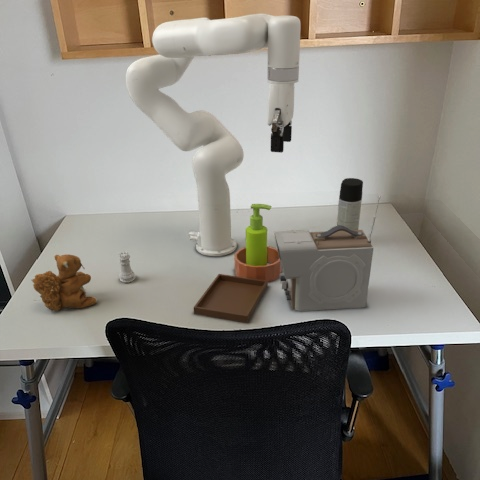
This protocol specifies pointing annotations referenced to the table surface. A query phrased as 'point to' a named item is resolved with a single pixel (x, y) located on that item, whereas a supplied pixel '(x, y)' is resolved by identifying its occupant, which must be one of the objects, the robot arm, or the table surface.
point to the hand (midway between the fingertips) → (281, 146)
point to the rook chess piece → (125, 269)
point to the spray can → (350, 203)
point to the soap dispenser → (256, 238)
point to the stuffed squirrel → (64, 285)
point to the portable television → (325, 267)
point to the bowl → (258, 272)
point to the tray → (231, 298)
